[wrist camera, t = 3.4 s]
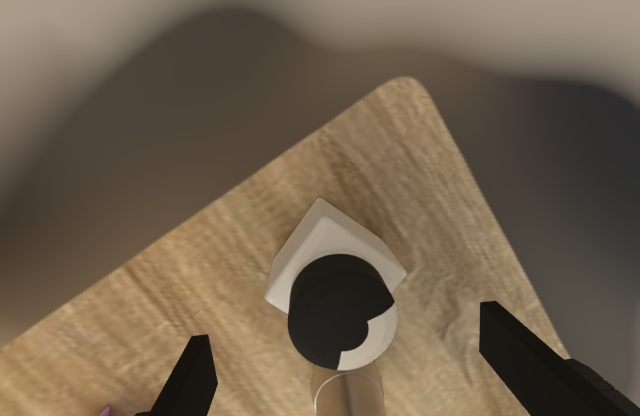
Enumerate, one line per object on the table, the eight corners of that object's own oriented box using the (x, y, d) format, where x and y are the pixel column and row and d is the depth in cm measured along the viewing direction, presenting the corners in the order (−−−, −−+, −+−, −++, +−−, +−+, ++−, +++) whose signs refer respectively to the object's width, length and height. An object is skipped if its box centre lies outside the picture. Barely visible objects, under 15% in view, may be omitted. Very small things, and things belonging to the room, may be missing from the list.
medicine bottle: (272, 260, 28) (249, 347, 17) (318, 195, 27) (329, 239, 15) (336, 301, 29) (358, 409, 18) (384, 240, 28) (440, 313, 17)
